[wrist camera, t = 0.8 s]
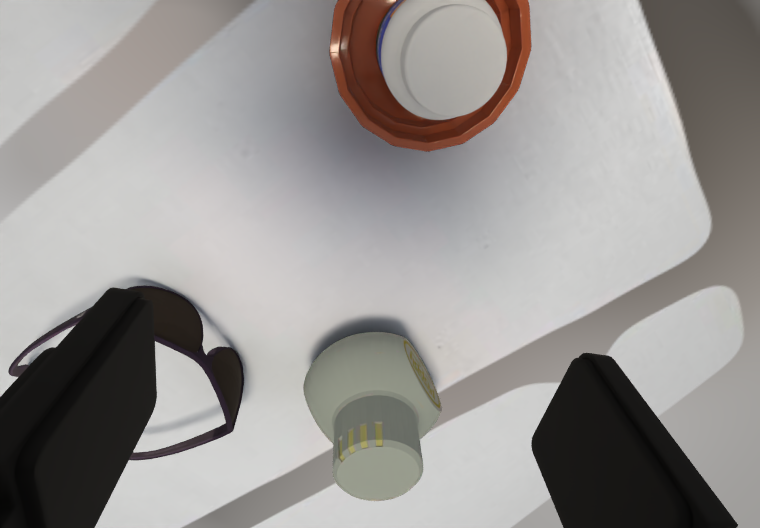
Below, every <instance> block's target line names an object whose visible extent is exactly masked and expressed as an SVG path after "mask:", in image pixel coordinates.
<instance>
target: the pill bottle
mask: <svg viewBox="0 0 760 528" xmlns="http://www.w3.org/2000/svg"><path fill="white" fill-rule="evenodd" d="M376 56H377V61H378V65H379V68H380V70H381V72H382V74H383V77H384V79H385V81H386V84H387V86H388V88H389V89H390V91H391V93H392V94H393V96H394V97H395V98H396V100H397V101H398V102H399V103H400V104H401V105H402V106H403V107H404V108H405V109H407V110H408V111H410V112H411V113H413V114H415V115H417V116H420V117H422V118H426V119H432V120H445V119H451V118H455V117H458V116H463V115H467V114H469V113H472V112H474V111H475V110H477V109H479V108H480V107H482V106H483V105H484V104H485V103H487V102H488V101H489V100H490V98H491V97H492V96H493V95H494V93H495V92H496V91H497V89H498V87H499V85H500V84H501V81H502V79H503V76H504V73H505V69H506V63H507V48H506V43H505V39H504V36H503V32H502V28H501V25H500V23H499V20H498V18H497V16H496V14H495V12H494V11H493V9H492V8H491V6H490V5H489V4H488V3H487V2H486V1H485V0H397V1H396V2H395V3H394V4H393V5H392V6H391V7H390V8H389V9H388V10H387V12H386V13H385V15H384V16H383V18H382V20H381V22H380V25H379V28H378V31H377V36H376Z"/></svg>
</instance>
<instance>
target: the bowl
mask: <svg viewBox="0 0 760 528" xmlns="http://www.w3.org/2000/svg"><path fill="white" fill-rule="evenodd" d="M396 1H397V0H338V2H337V4H336V5H335V9H334V16H333V24H332V33H331V41H330V50H329V52H330V58H331V62H332V66H333V70H334V75H335V79H336V83H337V87H338V91H339V93H340V96H341V97H342V99H343V100H344V101H345V103H346V104H347V106H348V107H349V109H350V110H351V111H352V113H353V114H354V116H355V117H356V119H357V120H358V121H359V123H360V124H361V125H362V126H363V127H364V128H366V129H367V130H369V131H370V132H372V133H373V134H375V135H376V136H378V137H380V138H381V139H383V140H384V141H386V142H387V143H389V144H390V145H393V146H397V147H403V148H408V149H414V150H420V151H426V152H427V151H428V152H429V151H433V150H438V149H442V148H446V147H451V146H455V145H460V144H463V143H465V142H466V141H468V140H469V139H471V138H472V137H474V136H475V135H477V134H478V133H480V132H481V131H483V130H484V129H486V128H487V127H489V126H490V125H492V124H493V123H494V122H495V121H496V120H497V118H498V117H499V116H500V114H501V113H502V112H503V110H504V109H505V108H506V106H507V105H508V104H509V102H510V101H511V99H512V98H513V97H514V95H515V94H516V93H517V91H518V89H519V87H520V84H521V81H522V77H523V74H524V71H525V68H526V64H527V61H528V58H529V55H530V51H531V30H530V8H529V2H528V0H485V1H486V2H487V3H488V4H489V5H490V6H491V8H492V9H493V11H494V12H495V14H496V16H497V18H498V20H499V23H500V25H501V28H502V32H503V36H504V39H505V43H506V48H507V63H506V69H505V73H504V76H503V79H502V81H501V84H500V85H499V87H498V89H497V91H496V92H495V93H494V95H493V96H492V97H491V98H490V100H489V101H488V102H487V103H485V104H484V105H483V106H482V107H480V108H479V109H477V110H475V111H474V112H472V113H469V114H467V115H463V116H458V117H455V118H451V119H445V120H432V119H426V118H422V117H420V116H417V115H415V114H413V113H411V112H410V111H408V110H407V109H405V108H404V107H403V106H402V105H401V104H400V103H399V102H398V101H397V100H396V98H395V97H394V96H393V94H392V93H391V91H390V89H389V88H388V86H387V84H386V81H385V79H384V77H383V74H382V72H381V70H380V68H379V65H378V61H377V56H376V36H377V31H378V28H379V25H380V22H381V20H382V18H383V16H384V15H385V13H386V12H387V10H388V9H389V8H390V7H391V6H392V5H393V4H394V3H395V2H396Z"/></svg>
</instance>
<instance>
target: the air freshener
mask: <svg viewBox="0 0 760 528" xmlns="http://www.w3.org/2000/svg"><path fill="white" fill-rule="evenodd" d="M304 395H305V398H306V401H307V404H308V407H309V409H310V412H311V414H312V416H313V418H314V419H315V421H316V423H317V425H318V426H319V428H320V429H321V431H322V432H323V433H324V435H325V436H326V437H327V438H328V439H329V440H330V441H331V442H332V443H333V444H334V446H333V477H334V480H335V482H336V483H337V485H338V486H339V487H340V488H341V489H342V490H344V491H345V492H346V493H348V494H350V495H351V496H354V497H356V498H359V499H363V500H369V501H382V500H389V499H393V498H396V497H398V496H401V495H403V494H405V493H406V492H408V491H409V490H410V489H411V488H412V487H413V486H414V485H415V484H416V483H417V482H418V481H419V480H420V478H421V476H422V473H423V460H422V453H421V446H420V439H421V438H422V437H423V436H425V435H426V434H427V433H428V432H429V431H430V430H431V428H432V427H433V425H434V424H435V423H436V421H437V419H438V417H439V415H440V413H441V411H442V407H441V402H440V399H439V396H438V393H437V391H436V388H435V386H434V384H433V381H432V379H431V377H430V375H429V373H428V371H427V369H426V367H425V365H424V363H423V362H422V360H421V358H420V356H419V355H418V353H417V352H416V350H415V349H414V347H413V346H412V344H411V343H410V342H409V341H408V340H407V339H406V338H405V337H402V336H399V335H395V334H392V333H385V332H366V333H359V334H355V335H352V336H348V337H346V338H344V339H341V340H339V341H337V342H335V343H334V344H332V345H331V346H329V347H328V348H326V349H325V350H324V351H323V352H322V353H321V354H320V355H319V356H318V357H317V358H316V360H315V361H314V362H313V363H312V365H311V367H310V369H309V371H308V373H307V375H306V378H305V381H304Z"/></svg>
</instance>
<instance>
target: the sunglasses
mask: <svg viewBox="0 0 760 528" xmlns="http://www.w3.org/2000/svg"><path fill="white" fill-rule="evenodd" d="M127 290H134V291H141V292H143V294H144V296H145V299H147V300H151V301H152V302H153V312H154V338H155V341H156V342H158V343H161V344H163V345H165V346H167V347H170V348H172V349H174V350H176V351H178V352H180V353H182V354H184V355H186V356H188V357H190V358H191V359H193V360H194V361H196V362H197V363H198V364H199V365H200V366H201V367H202V368H203V370H204V371H205V373H206V374H207V376H208V378H209V379H210V382H211V384H212V386H213V388H214V390H215V392H216V394H217V397H218V399H219V402H220V405H221V407H222V410H223V413H224V416H225V420H226V424H224V425H222V426H220V427H218V428H215V429H213V430H211V431H209V432H206V433H204V434H202V435H199V436H197V437H194V438H192V439H189V440H187V441H184V442H181V443H178V444H175V445H172V446H169V447H166V448H162V449H159V450H155V451H149V452H139V453H133V452H132V454H131V456H130V458H129V460H146V459H153V458H158V457H163V456H167V455H171V454H175V453H179V452H182V451H185V450H188V449H191V448H194V447H197V446H200V445H203V444H205V443H208V442H211V441H213V440H216V439H218V438H221V437H223V436H225V435H227V434H229V433H231V432H232V431H233V429H234V426H235V422H236V419H237V415H238V412H239V408H240V404H241V400H242V394H243V386H244V375H243V367H242V363H241V360H240V358H239V356H238V354H237V353H236V351H235V350H234V349H232V348H230V347H217V348H214V349H212V350H210V351H209V352H208V354H207V355H206V354H205V353H204V351H203V346H202V342H203V325H202V321H201V318H200V315H199V313H198V312H197V310H196V309H195V307H194V306H193V305H192V304H191V303H190V302H189V301H188V300H186V299H185V298H184V297H182V296H180V295H178V294H177V293H174V292H172V291H170V290H166V289H163V288H159V287H155V286H134V287H130V288H127ZM91 308H92V307H91ZM91 308H89V309H87V310H86V311H84V312H82V313H80V314H78V315H76V316H75V317H73V318H71V319H69V320H67V321H66V322H64V323H62V324H61V325H59V326H57V327H56V328H54V329H52V330H51V331H49V332H48V333H46V334H45V335H43V336H41V337H40V338H39V339H37V340H36V341H34V342H33V343H32V344H31V345H29V346H28V347H27V348H26V349H25V350H24V351H23V352H22V353H21V354H20V355H19V356H18V357H17V358H16V359H15V360H14V362H13V363H12V364H11V366H10V368H9V374H10V375H11V376H16V377H19V376H20V375H21V374H22V373H23V372H24V371H25V370H26V369H27V368H28V367H29V365H21V366H18V363H19V362H20V361H21V360H22V359H23V358H24V356H26V355H27V354H28V353H29V352H30V351H32V350H33V349H35V348H36V347H38V346H39V345H41V344H42V343H44V342H46V341H47V340H49V339H51V338H52V337H54V336H56V335H57V334H59V333H61V332H62V331H64V330H66V329H68V328H70V327H72V326H75V325H77V324H78V322H79V321H80V320H81V319H82V318H83V317H84V316H85V315H86V314H87V312H88V311H89V310H90V309H91Z"/></svg>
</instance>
